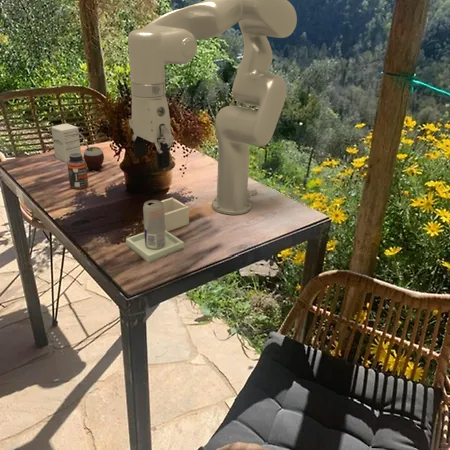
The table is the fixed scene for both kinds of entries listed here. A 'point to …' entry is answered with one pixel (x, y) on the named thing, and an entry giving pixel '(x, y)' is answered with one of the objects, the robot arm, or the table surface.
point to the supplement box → (65, 141)
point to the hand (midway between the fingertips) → (151, 161)
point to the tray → (153, 254)
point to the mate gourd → (93, 157)
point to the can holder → (175, 214)
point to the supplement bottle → (77, 171)
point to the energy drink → (154, 224)
